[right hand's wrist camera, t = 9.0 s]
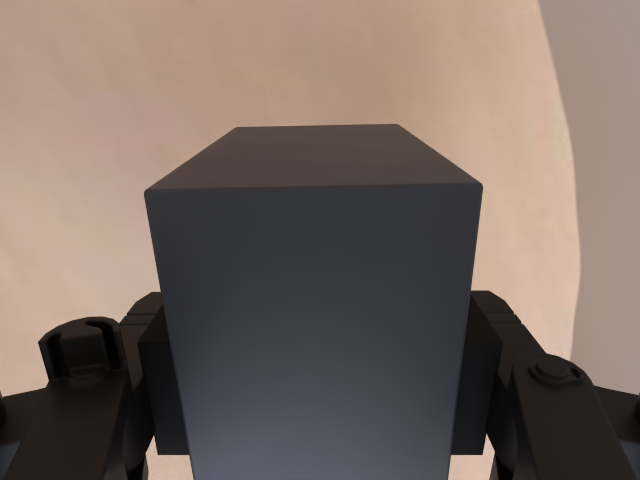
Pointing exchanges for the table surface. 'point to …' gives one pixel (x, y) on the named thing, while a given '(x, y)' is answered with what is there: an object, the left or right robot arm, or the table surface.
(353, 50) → the table surface
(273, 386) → the beam
